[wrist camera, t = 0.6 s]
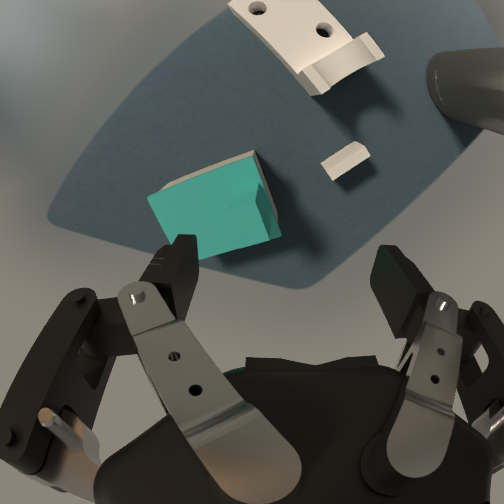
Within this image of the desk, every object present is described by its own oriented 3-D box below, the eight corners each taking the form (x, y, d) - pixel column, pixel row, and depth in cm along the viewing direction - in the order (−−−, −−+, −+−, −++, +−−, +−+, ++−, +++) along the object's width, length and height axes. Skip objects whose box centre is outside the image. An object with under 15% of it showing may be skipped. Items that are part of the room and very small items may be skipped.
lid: (252, 155, 24) (247, 169, 19) (281, 233, 28) (283, 263, 23) (148, 195, 27) (124, 218, 22) (183, 261, 31) (169, 292, 26)
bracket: (359, 64, 22) (385, 56, 16) (309, 95, 25) (321, 94, 19) (283, -18, 18) (285, -47, 11) (232, 13, 20) (219, -10, 14)
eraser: (320, 163, 29) (326, 171, 26) (354, 140, 27) (364, 146, 24) (326, 171, 29) (332, 181, 26) (360, 149, 28) (370, 156, 24)
